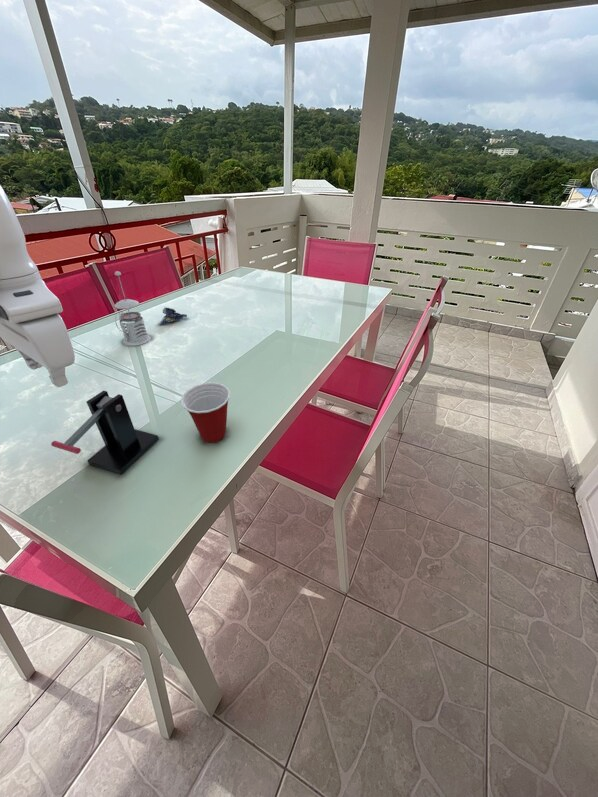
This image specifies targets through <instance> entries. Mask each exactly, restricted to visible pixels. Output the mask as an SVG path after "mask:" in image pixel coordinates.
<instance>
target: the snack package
mask: <svg viewBox="0 0 598 797" xmlns="http://www.w3.org/2000/svg"><path fill="white" fill-rule="evenodd" d="M162 314H164V316H163V317H162V319H161V320H160V322H157V323H158V324H159V325H162V324H165V323H170V322H175V321H178V320H180V319H182V318H188V315H187V314H185V313H179V312H177V311H176V309H174V308H171V307H165V306H164V308H163V309H162Z"/></svg>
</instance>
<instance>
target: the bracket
mask: <svg viewBox="0 0 598 797" xmlns="http://www.w3.org/2000/svg"><path fill="white" fill-rule="evenodd" d="M105 396H108V397H110V395H109V393H108V391H107V390H102V391H100V392H99V393H97V394H96V395H94V396H93V397H91V398H89V399H88V400H87V401H86V404H87V407H88V409H89V411H90V413H91V416H92V415H93V414H94V413H95V412H96V411H97V410H98V408H97V406H96V404H97V403H98V402H99V401H100V400H102V399H103V398H104V397H105ZM102 407H103V410H104V412H105V414H104V415H103V416H102V417H101V418H100V419H99V420H98V421H97V422H96V423H95V424H96V427H97V429H98V431H99V434H100V436H101V438H102V441H103V444H104V446H102V447H101V448H100V449H99V450H98V451H96V452H95V453H94V454H93V455H92V456H90V457H89V458H88V459H87V460H86V462H87V463H88V465H90V466H93V467H96V468H100V469H102V470H106V471H109V472H112V473H114V474H117V475H124V474H125V472H127V471H128V469H129V468H131V466H132V465H134V464H135V463H136V462H137V461H138V460H139V459H140V458H141V457H142V456H143V455H144V454H145V453H146V452H147V451H148V450H150V448H152V447H153V445H155V444H156V442H158V441H159V434H158V435H157V434H153V433H150V432H146V431H143V430H139V429H136V428H135V427H134V424H133V420H132V418H131V416H130V412H129V410H128V407H127V404H126V402H125V399H124V396H123V395H122V394H120V393H118V394H117V395H115V396H114V397H112V399H111V400H109V401H108V402H107V403H105V404H104V405H102Z"/></svg>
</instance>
